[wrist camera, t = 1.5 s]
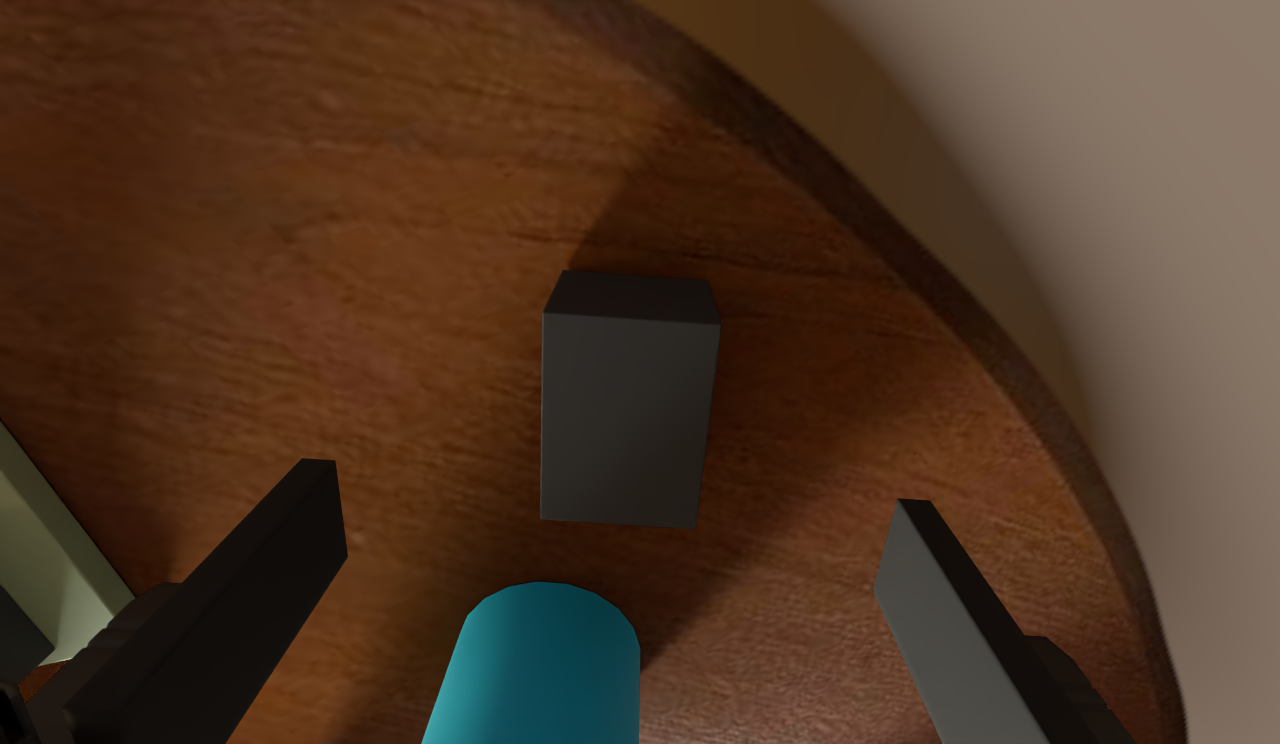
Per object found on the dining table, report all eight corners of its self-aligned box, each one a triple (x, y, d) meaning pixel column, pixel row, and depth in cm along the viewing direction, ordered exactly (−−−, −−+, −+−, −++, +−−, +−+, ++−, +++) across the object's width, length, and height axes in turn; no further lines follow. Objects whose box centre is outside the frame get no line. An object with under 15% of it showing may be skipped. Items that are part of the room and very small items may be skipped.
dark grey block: (562, 269, 22) (542, 311, 18) (708, 280, 22) (722, 323, 18) (558, 448, 25) (539, 519, 21) (688, 457, 25) (695, 530, 21)
